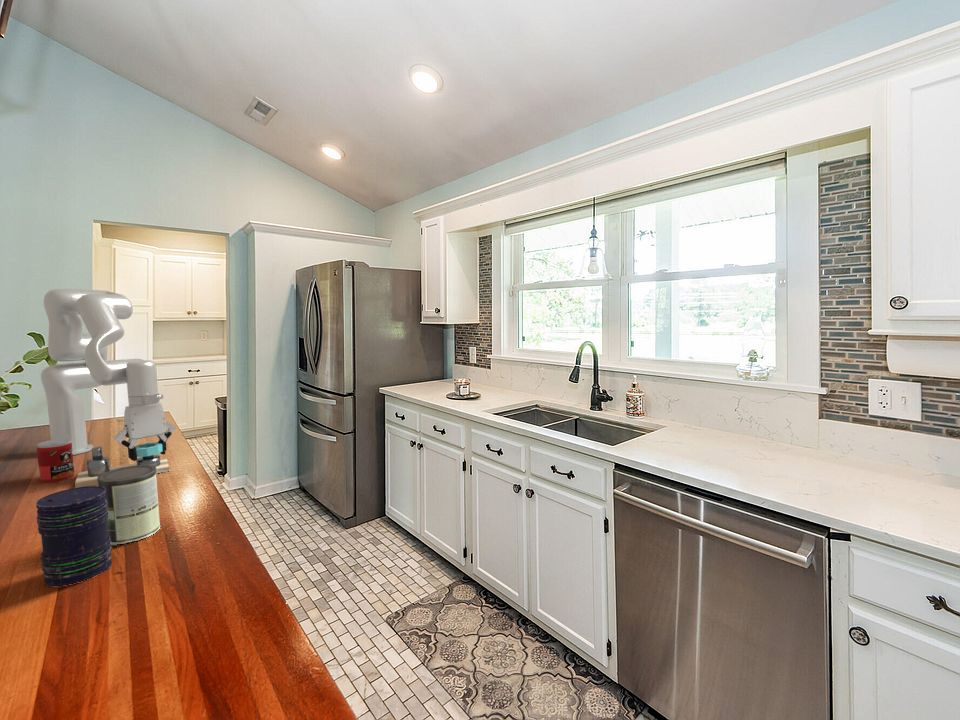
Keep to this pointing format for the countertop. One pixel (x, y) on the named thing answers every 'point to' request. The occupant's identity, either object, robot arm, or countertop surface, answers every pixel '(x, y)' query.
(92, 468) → the stand
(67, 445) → the canned food
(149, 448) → the teal octagonal collar
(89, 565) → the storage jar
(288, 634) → the countertop surface
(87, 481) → the base board
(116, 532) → the coffee can
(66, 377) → the robot arm
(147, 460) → the knob
